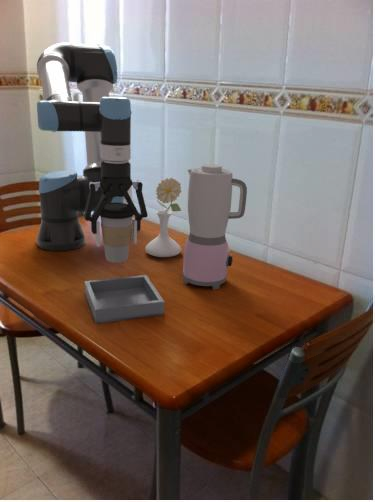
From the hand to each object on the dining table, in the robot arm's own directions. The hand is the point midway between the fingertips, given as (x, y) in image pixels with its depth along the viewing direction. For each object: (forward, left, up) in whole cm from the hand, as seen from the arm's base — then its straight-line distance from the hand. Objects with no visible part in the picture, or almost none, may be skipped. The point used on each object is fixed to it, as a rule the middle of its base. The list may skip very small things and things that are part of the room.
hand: (116, 243), depth 125 cm
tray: (+17, -2, -10) cm, 20 cm away
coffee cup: (0, 0, -5) cm, 5 cm away
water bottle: (-43, +11, -10) cm, 45 cm away
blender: (+10, +24, -10) cm, 28 cm away
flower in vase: (-13, +18, -10) cm, 24 cm away
